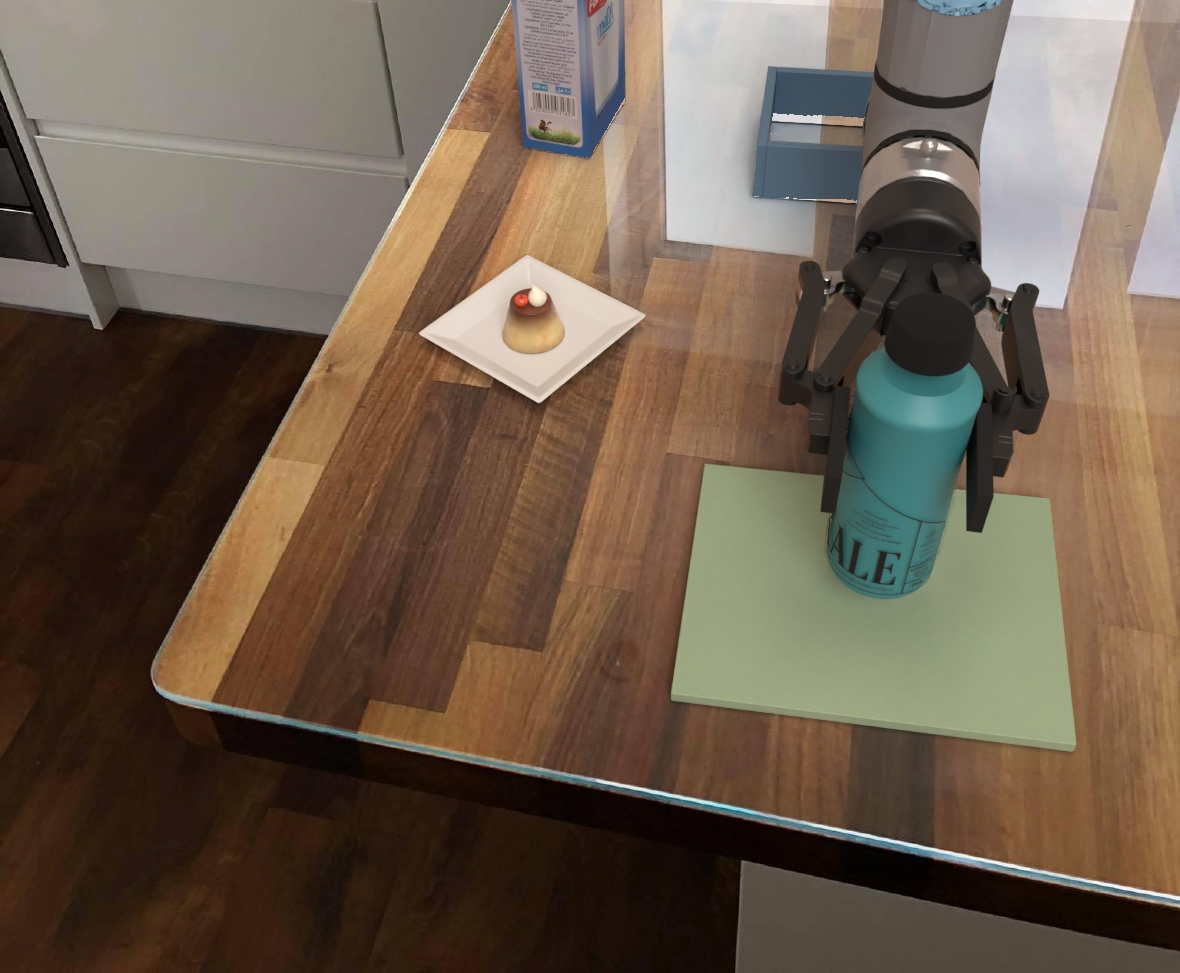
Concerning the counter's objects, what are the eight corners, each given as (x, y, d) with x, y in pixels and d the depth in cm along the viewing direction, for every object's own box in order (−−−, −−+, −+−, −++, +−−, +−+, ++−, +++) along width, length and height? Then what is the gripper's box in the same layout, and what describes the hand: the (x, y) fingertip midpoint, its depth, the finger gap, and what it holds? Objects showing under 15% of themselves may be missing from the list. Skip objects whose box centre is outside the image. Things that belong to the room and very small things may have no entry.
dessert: (419, 344, 91) (410, 293, 87) (527, 265, 97) (523, 215, 93) (540, 414, 85) (535, 363, 82) (646, 326, 91) (647, 275, 88)
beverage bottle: (930, 539, 74) (1004, 274, 59) (931, 627, 70) (1011, 366, 55) (821, 526, 75) (867, 263, 60) (815, 613, 70) (863, 352, 56)
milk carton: (562, 92, 114) (551, -132, 100) (625, 102, 113) (623, -124, 98) (523, 148, 108) (504, -81, 93) (589, 160, 107) (580, -72, 92)
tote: (906, 126, 109) (915, 74, 105) (906, 208, 100) (916, 155, 97) (763, 117, 110) (768, 65, 107) (752, 197, 102) (756, 144, 98)
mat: (1047, 506, 78) (1050, 497, 78) (1073, 752, 66) (1077, 744, 66) (704, 471, 81) (704, 463, 81) (670, 700, 69) (670, 693, 69)
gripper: (763, 160, 74) (711, 426, 59) (1099, 190, 71) (1135, 478, 56) (754, 261, 79) (705, 527, 64) (1065, 292, 76) (1090, 579, 61)
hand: (904, 503), depth 60 cm, fingers closed on beverage bottle, 6 cm apart
